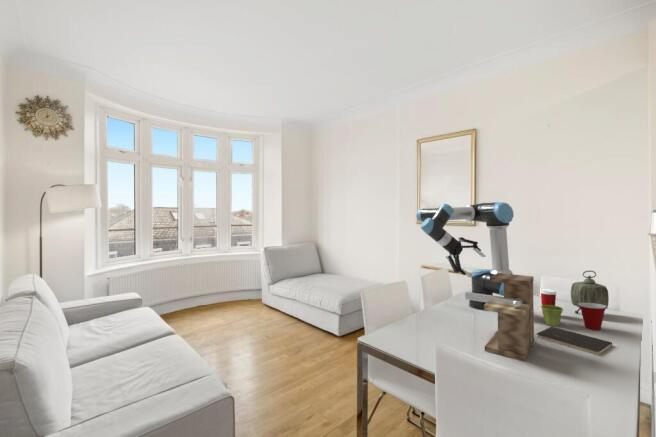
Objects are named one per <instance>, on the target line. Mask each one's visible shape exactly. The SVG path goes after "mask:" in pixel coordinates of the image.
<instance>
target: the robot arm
mask: <svg viewBox="0 0 656 437" xmlns="http://www.w3.org/2000/svg"><path fill="white" fill-rule="evenodd" d="M415 214H416V215H415V216H416V220H418V221H419V222H422V223H421V225H420V229H421V230H422V232H424V233H425V234H426V235H427V236H429V237H430V238H432V240H434V241H435V242H436V243H437V244H438V245H440V246H441V247H442V248H443V249H444V250H445V251H447V252H448V255H446V256H445V258H446V259H447V260H448V262H449V264H450V266H451V269H452V271H453V272H454V273H455V274H459V273H460V274H461V275H463V276H467V278H471V292H472V293H479V294H486V295H493V294H494V295H495V294H496V295H498V296H499V295H500V297H504V283H499V282H491V276H493V275H494V274H496V273H503V274H513V275H514V273H513V271H512V270H511V269H510V262H509V261H510V260H509V247H508V235H507V234H508V232H507V231H508V230H507V228H508V227H509V226H510V223H511V222H512V220H513V218H514V211H513V207H512V206H511V205H510V204H509V203H507V202H505V201H504V202H501V201H498V202H481V203H475V204H469V205H468V204H467V205H465V206H460V207H459V206H458V207H456V206H455V207H452V206H451V205H450V204H447V203H442V204H440V205H439V207H435V208H430V207H429V208H420V209H418V210H417V211H416V213H415ZM461 220H462V221H463V220H465V221H467V222H480V223H485V225H486V227H487V228H488V229H489V237H490V238H489V241H490V254H491V255H490V256H491V266H492V268H491V269H490V268H489V269H488V268H483V269H480V268H479V269H473V270H472V271H471V274H470V273H469V272H468V271H467V270H465V269H464V268H462V266H461V261H460V255H461V253H462V252H463V249H472V250H473V251H474V252H475V253H476V254H478V255H479V256H480V257H482V258H485V257H486V256H487V255H486V254H484V253H483V252H482V249H481V248H480V247H479V246H478V245H479V243H478V241H476V240H470V239H466V238H464V237H463V236H462V237H458V240H457V239H456V237H454V236H452V235H451V234H450V233H449V232H448V231H447V230H445V229H444V227H445V225H446V224H447V223H448V222H449V221H461ZM462 243H467V244H471V245H463V244H462ZM494 295H493V296H494ZM468 302H469V304H468V305H469V307H470V308H473V309H477V310H483V311H484V304H486V302H480V301H473V300H468Z"/></svg>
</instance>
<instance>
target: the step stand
mask: <svg viewBox="0 0 656 437" xmlns="http://www.w3.org/2000/svg"><path fill="white" fill-rule="evenodd" d="M534 281H535V280H534V276H533V275H523V274H522V275H521V274H514V273H513V274H503V273H496V274H494V275H493V276H491V282H499V283H504V296H503V297H507V298H514V299H517V298H521V299H523V303H522V307H521V308H519V309H514V308H513V307H512V306H505V305H499V304H492V303H486V304H484V310H485V311H489V312H490V311H491V312H496V313H497V330H496V332H494V334H493V335H492V336H491V337H490V339H489V340H488V341H487V343H486V344H485V345H484V352H487V353H491V354H496V355H499V356H503V357H507V358H509V359H515V360H519V361H523V362H527V359H528V357H529V354H530V352H531V351H532V348H533V346H534V344H535V325H534V324H535V322H534V319H535V317H534V316H535V315H534V313H535V312H534V311H535V310H534ZM484 310H483V311H484Z"/></svg>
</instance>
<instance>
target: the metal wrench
mask: <svg viewBox="0 0 656 437" xmlns="http://www.w3.org/2000/svg"><path fill="white" fill-rule="evenodd" d="M464 296H465V298H464V299H465V300H466V301H467V300H468V301H470V300H473V301H480V302H486V303H492V304H499V305H505V306H512V307H513V308H514V309H519V308H521V307H522V303H523V299H521V298H517V299H514V298H507V297H504V296H501V295H500V296H499V295H486V294H479V293H472V291H471V292H470V291H466V292H465V294H464Z"/></svg>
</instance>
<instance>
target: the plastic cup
mask: <svg viewBox="0 0 656 437" xmlns="http://www.w3.org/2000/svg"><path fill="white" fill-rule="evenodd" d="M578 305H579V306H580V308H581V309H580V311H581V315H582V319H583V323H584V327H585V328H586V329H588V330H591V331H600V330H601V328H602V324H603V320H604V316H605V311H606V309H605V308H606V307H607V306H605V305H601V304H595V303H579V304H578Z"/></svg>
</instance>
